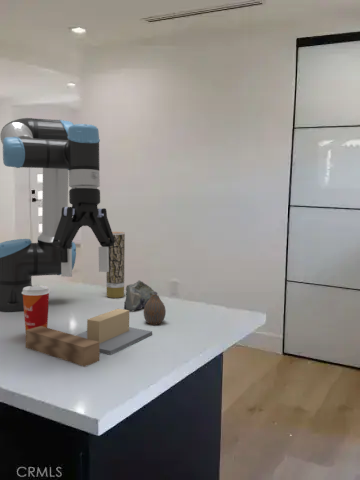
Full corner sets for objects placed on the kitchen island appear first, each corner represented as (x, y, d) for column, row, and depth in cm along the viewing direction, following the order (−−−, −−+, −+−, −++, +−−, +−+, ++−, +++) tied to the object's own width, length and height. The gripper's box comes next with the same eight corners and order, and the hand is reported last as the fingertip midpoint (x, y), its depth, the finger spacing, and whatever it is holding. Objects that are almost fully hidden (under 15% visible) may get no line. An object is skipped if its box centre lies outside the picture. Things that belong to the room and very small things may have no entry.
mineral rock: (156, 303, 179) (156, 276, 178) (162, 310, 169) (163, 282, 168) (121, 305, 176) (121, 277, 175) (126, 312, 166) (126, 283, 164)
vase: (138, 322, 153) (139, 295, 153) (154, 318, 159) (155, 292, 158) (154, 327, 149) (154, 299, 148) (169, 323, 154) (170, 295, 153)
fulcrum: (62, 343, 131) (62, 318, 131) (107, 326, 149) (107, 303, 148) (110, 354, 124) (110, 327, 123) (152, 334, 141) (152, 311, 140)
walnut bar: (25, 348, 128) (25, 330, 127) (41, 343, 132) (40, 325, 132) (84, 367, 115) (84, 347, 115) (99, 361, 119) (99, 342, 119)
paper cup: (20, 334, 139) (20, 285, 138) (48, 331, 142) (47, 284, 141) (23, 342, 132) (22, 291, 131) (52, 339, 135) (52, 289, 134)
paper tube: (120, 299, 185) (121, 233, 182) (103, 297, 186) (104, 232, 184) (126, 295, 192) (126, 232, 189) (109, 294, 193) (110, 231, 190)
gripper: (59, 183, 108) (61, 279, 108) (127, 190, 129) (128, 270, 130) (35, 185, 112) (37, 278, 112) (105, 192, 133) (106, 269, 133)
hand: (86, 274), depth 121 cm, fingers open, 13 cm apart
